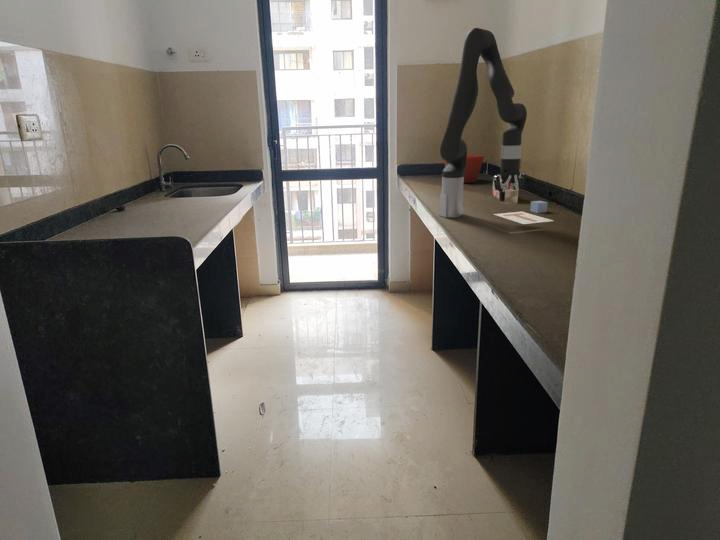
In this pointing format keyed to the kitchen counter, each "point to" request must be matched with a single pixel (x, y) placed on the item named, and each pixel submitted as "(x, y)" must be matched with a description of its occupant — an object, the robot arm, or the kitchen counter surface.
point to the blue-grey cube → (538, 206)
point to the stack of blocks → (496, 193)
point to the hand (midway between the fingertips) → (508, 200)
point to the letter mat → (523, 217)
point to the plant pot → (472, 167)
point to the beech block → (510, 197)
